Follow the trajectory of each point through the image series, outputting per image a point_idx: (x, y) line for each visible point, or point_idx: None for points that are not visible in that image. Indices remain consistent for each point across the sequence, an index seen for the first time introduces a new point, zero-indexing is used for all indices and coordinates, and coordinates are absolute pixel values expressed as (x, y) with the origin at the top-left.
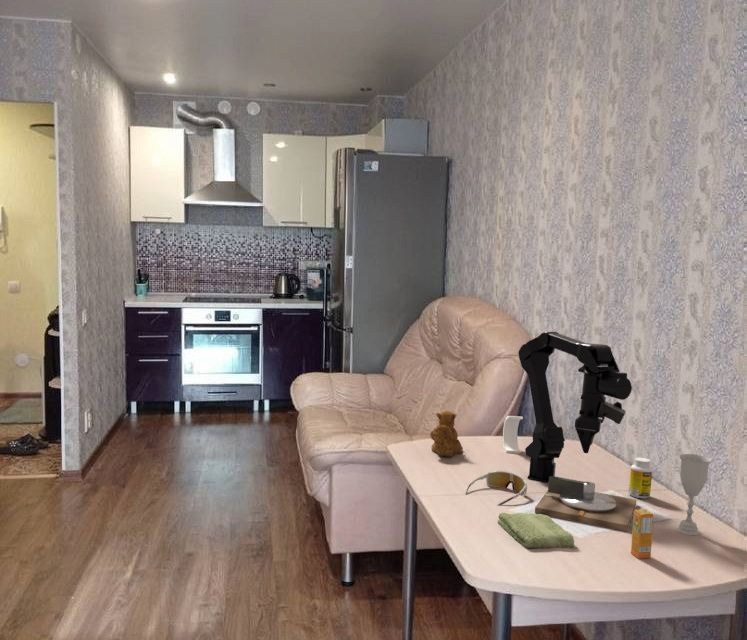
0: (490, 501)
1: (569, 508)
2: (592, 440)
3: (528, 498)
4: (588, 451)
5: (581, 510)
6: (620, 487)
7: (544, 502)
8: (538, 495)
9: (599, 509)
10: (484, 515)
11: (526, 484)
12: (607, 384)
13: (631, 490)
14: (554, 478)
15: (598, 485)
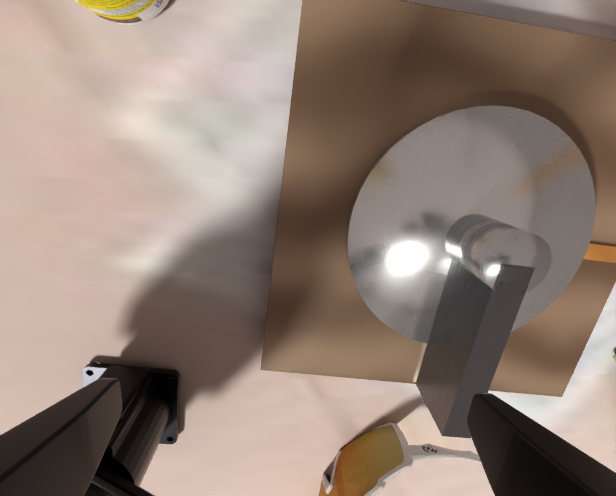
0: (474, 490)
1: None
2: (83, 418)
3: (403, 411)
4: (500, 403)
5: None
6: (30, 69)
7: (502, 376)
8: (356, 388)
9: (589, 187)
10: None
11: (409, 460)
12: None
13: (150, 2)
14: None
15: (76, 182)
